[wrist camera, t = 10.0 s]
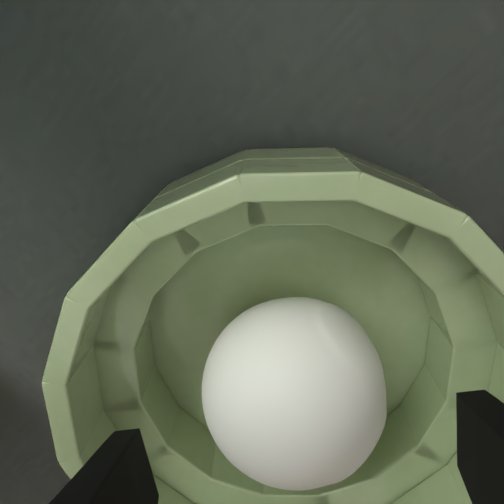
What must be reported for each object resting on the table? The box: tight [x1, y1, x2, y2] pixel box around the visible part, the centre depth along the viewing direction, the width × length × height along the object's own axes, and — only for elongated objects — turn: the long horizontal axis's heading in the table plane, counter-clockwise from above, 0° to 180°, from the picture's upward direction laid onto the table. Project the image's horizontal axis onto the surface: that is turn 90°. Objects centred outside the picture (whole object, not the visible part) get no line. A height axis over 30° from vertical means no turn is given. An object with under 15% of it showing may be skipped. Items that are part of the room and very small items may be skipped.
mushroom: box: [202, 297, 387, 490], centre depth 13 cm, size 5×5×5 cm
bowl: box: [42, 147, 504, 504], centre depth 13 cm, size 12×12×4 cm
